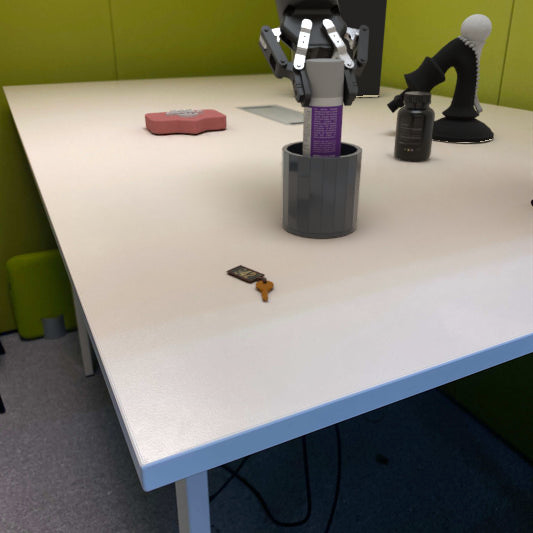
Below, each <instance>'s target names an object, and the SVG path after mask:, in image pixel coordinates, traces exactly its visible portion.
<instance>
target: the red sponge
mask: <svg viewBox="0 0 533 533" xmlns="http://www.w3.org/2000/svg"><path fill="white" fill-rule="evenodd" d="M144 122H145V128H146V129H148V130H149V131H150V132H151V133H152V134H156V135H166V134H177V133H179V134H191V135H192V134H193V135H194V134H196V135H197V134H200V133H203V132H206V131H215V130H217V131H218V130H225V129H227V127H228V126H227V115H226V114H225V113H223V112H220V111H219V110H216V109H211V108H210V109H209V108H208V109H207V108H206V109H192V108H191V109H178V110H176V109H175V110H173V109H172V110H170V111H162V112H148V113H144Z"/></svg>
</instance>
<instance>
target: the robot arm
mask: <svg viewBox="0 0 533 533" xmlns="http://www.w3.org/2000/svg"><path fill="white" fill-rule="evenodd" d="M274 3H275V7H276V11H277V16H278V22H279V27H276V28H271V26H270V25H266V24H265V25H262V26H261V28H260V33H259V38H258V39H259V40H258V46H259V48H260V51H261V52H262V55H263V56H264V58H265V60H266V62H267V64H268V66H269V68H270V69H271V71H272V74H273V75H274V77H275V78H276V79H277V80H281V79H283V78H286V79H288V80H289V81H290V82H291V85H292V89H293V95H294V99H295V102H296V103H297V104H300V106H301V108H304V107H308V106H309V104H310V101H311V91H310V86H309V81H308V77H307V72H306V70H303V67H304V63H305V60H308V59H342V60H344V90H343V107H344V106H345V107H351V106H352V105H353V103H354V102H355V100H356V99H357V98H356V96H357V94H358V86H357V82H356V78H355V77H360V76H361V74H362V71H363V69H364V67H365V65H366V63H367V61H368V43H369V28H368V26H366V25H361V26H360V28H359V29H354V28H349V27H347V25H346V23H345V22H344V21H343V20H342V18H341V16H340V9H339V4H338V0H274ZM344 38H346V39H347V40H348V41H349V44H350V48H351V49H353V61H352V59H351V58H350V56H349V54H348V53H347V47H346V45H345V43H344V42H343V39H344ZM280 41H281V42H282V43H283V44H284V45H285V46H286V47H287V48H289V50H291V51H292V52H293V53H294V54H293V59H292V61H289V60H288V58H287V56H286V54H285V52H284V50H283V48H282V46H281V44H280Z"/></svg>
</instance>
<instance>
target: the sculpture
mask: <svg viewBox="0 0 533 533" xmlns="http://www.w3.org/2000/svg"><path fill="white" fill-rule="evenodd" d="M492 30H493V25H492V21H491V20H490V18H489V17H488V16H486V15H484V14H481V13H476V14H471V15H470V16H468V17H466V18H465V19H464V20H463V22H462V23H461V26H460V35H458V36H456V37H454V39H451V40H450V41H449V42H447V43H446V44H445V45H444V46H442V47H441V48H440V49H439V50H438V51H437V52H436V53H435V54H434V55H433V56H432V57H431V56H429V55H428V56H425V57H424V59H423V60H422V62H421V63H420V65H419V66H418V68H416V69H415V70H413V71H411V72H408V73H404V74H403V78H404V81H405V83H406V84H405V85H406V86H407V87H406V88H405V89H404V90H403V91H401V92H400V93H399V94H396V95H395V96H394V97H393V99H392V100H391V101H389V102H388V103H387V104H386V106H387V108H388V109H389V111H391V113H393V114H394V113H395V112H396V111H397V110H398V109H401V108H402V107H404V106H405V104H404V103H403V102H404V95H405V93H406V92H413V91H420V92H429V93H432V92H431V91H433V89H434V88H435V87H437V86H439V85H440V84H442V83H444V82H446V73H447V72H448V71H449V69H451V68H453V69H454V70H455V73H456V80H455V81H456V82H455V86H454V92H453V95H452V98H451V102H450V104H449V106H448V107H447V108H446V109H445V110H443V111H441V114H442V115H443V116H442V117H440V118H439V119H435V120H434V129H433V138H432V139H435V140H434V141H436V140H440V141H439V142H442V141H448V142H480V141H485V140H489V139H492V138H493V139H494V137H495V132H493V131H492V129H491V127H489V126H488V125H487V124H486V123H485V122H483V121H481V120H479V119H477V118H478V117H479V116H480V114H481V113H483V111H484V109H483V107H482V104H481V103H480V101H479V97H478V91H479V85H480V81H479V80H480V79H481V77H480V75H481V73H480V71H481V68H480V67H481V64H480V62H481V58H482V57H481V56H482V52H483V48H484V45H486V44H487V41H486V40H487V39H488V38H489V37H490V36H491V33H492ZM448 142H447V143H448Z"/></svg>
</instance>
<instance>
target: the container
mask: <svg viewBox="0 0 533 533" xmlns="http://www.w3.org/2000/svg"><path fill="white" fill-rule="evenodd" d="M306 72H307V77H308V81H309V86H310V91H311V101H310V104H309V106H308V107H303V117H302V118H303V122H302V123H303V124H302V127H303V128H302V141H303V155H304V156H312V157H337V156H340V152H341V142H342V133H343V132H342V130H343V114H344V102H343V90H344V60H342V59H308V60H306Z"/></svg>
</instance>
